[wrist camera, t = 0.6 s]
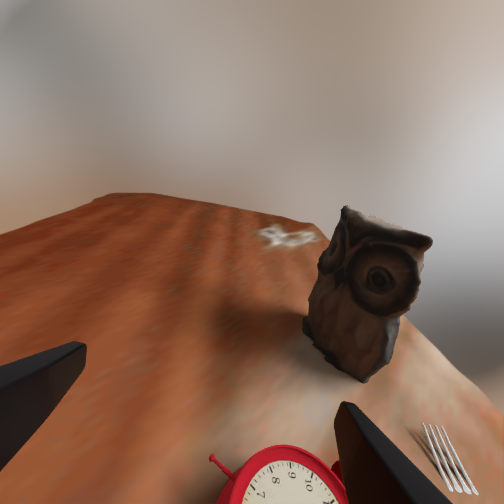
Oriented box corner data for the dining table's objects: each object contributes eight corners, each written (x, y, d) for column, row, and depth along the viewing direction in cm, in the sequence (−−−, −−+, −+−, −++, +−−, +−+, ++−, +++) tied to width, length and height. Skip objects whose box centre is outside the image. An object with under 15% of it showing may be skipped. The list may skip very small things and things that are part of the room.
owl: (373, 396, 29) (467, 250, 21) (280, 344, 33) (329, 208, 25) (373, 337, 40) (436, 226, 32) (303, 304, 44) (343, 200, 36)
